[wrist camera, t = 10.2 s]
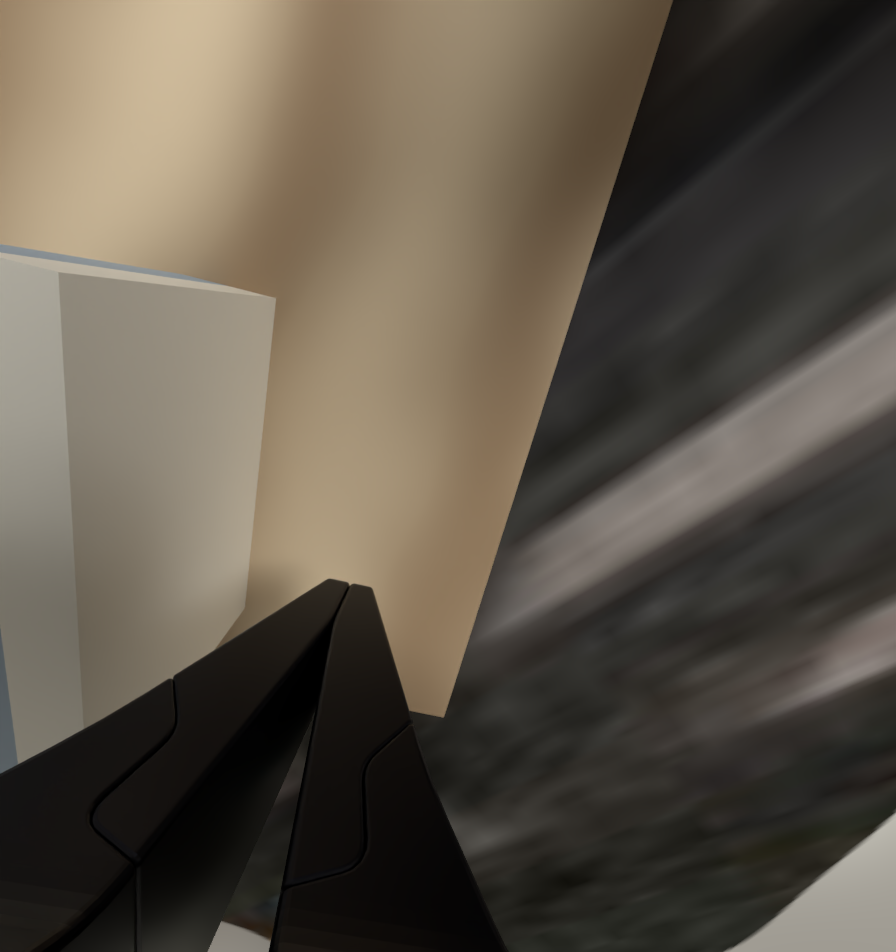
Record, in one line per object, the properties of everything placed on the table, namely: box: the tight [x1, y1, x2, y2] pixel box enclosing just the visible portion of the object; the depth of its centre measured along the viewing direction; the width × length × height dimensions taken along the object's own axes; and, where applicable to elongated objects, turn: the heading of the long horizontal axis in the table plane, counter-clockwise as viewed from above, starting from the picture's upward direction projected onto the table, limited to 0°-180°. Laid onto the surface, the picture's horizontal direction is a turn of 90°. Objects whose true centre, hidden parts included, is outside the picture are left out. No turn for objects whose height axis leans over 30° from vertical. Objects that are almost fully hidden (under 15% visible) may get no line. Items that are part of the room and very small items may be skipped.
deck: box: [0, 244, 276, 773], centre depth 9 cm, size 2×9×6 cm, turn 166°
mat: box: [0, 0, 673, 717], centre depth 11 cm, size 15×22×1 cm
